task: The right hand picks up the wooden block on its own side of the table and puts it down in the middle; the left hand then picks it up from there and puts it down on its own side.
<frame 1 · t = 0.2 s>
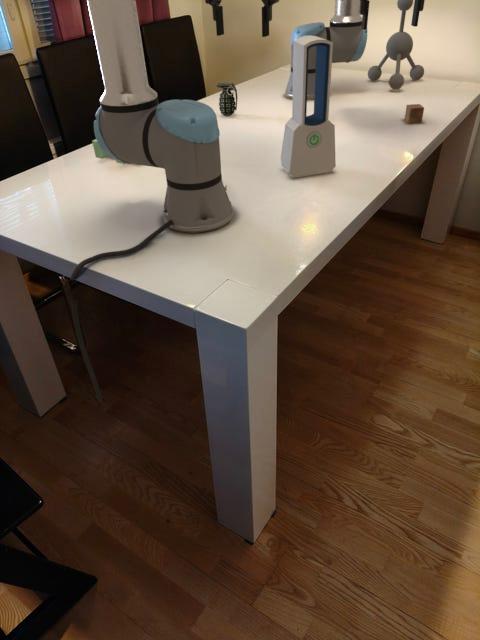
left hand: (242, 35, 129), 28 cm above the table, tool pointing down, fingers open, 13 cm apart
right hand: (389, 27, 131), 27 cm above the table, tool pointing down, fingers open, 13 cm apart
block: (412, 121, 154), on the table
grenade: (228, 115, 169), on the table
decorative block: (142, 151, 144), on the table
molecular model: (399, 83, 194), on the table
electronic device: (307, 170, 126), on the table
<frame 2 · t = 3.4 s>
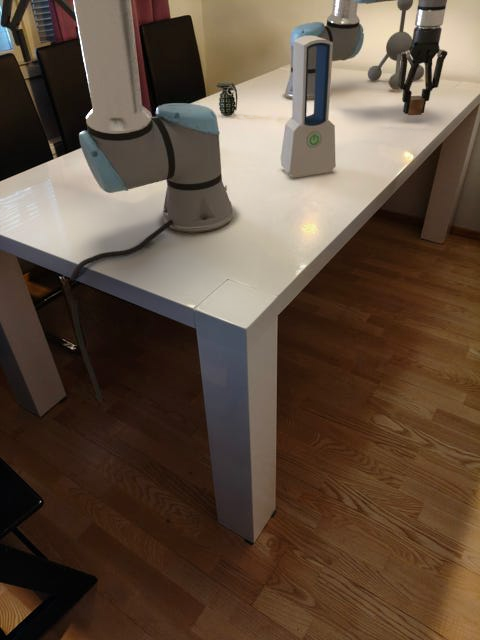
left hand: (56, 59, 115), 28 cm above the table, tool pointing down, fingers open, 13 cm apart
right hand: (413, 112, 153), 3 cm above the table, tool pointing down, fingers closed on block, 4 cm apart
block: (412, 113, 153), point 2 cm above the table, touching right hand
everything else where it was.
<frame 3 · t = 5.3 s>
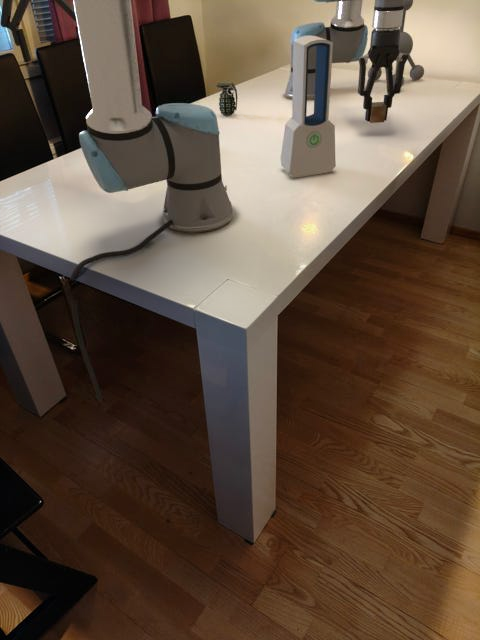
left hand: (56, 59, 115), 28 cm above the table, tool pointing down, fingers open, 13 cm apart
right hand: (375, 119, 144), 4 cm above the table, tool pointing down, fingers closed on block, 4 cm apart
block: (375, 120, 144), point 4 cm above the table, touching right hand
everything else where it was.
when the right hand's fingers open (1 cm above the table, at t = 7.3 s): block stays where it is, on the table.
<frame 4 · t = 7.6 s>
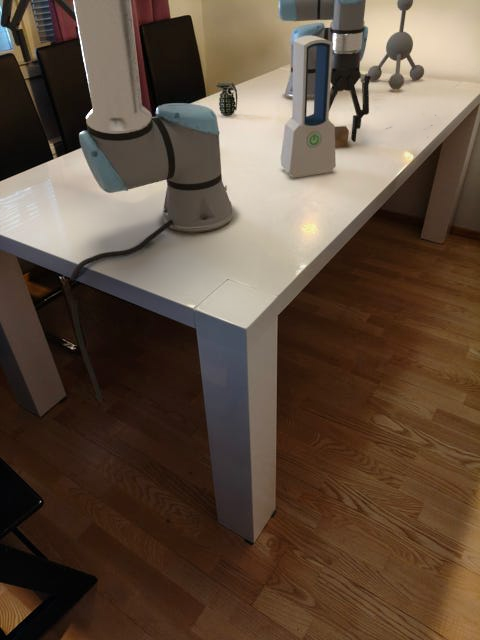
left hand: (56, 59, 115), 28 cm above the table, tool pointing down, fingers open, 13 cm apart
right hand: (339, 141, 139), 1 cm above the table, tool pointing down, fingers open, 7 cm apart
block: (338, 145, 140), on the table
everything else where it was.
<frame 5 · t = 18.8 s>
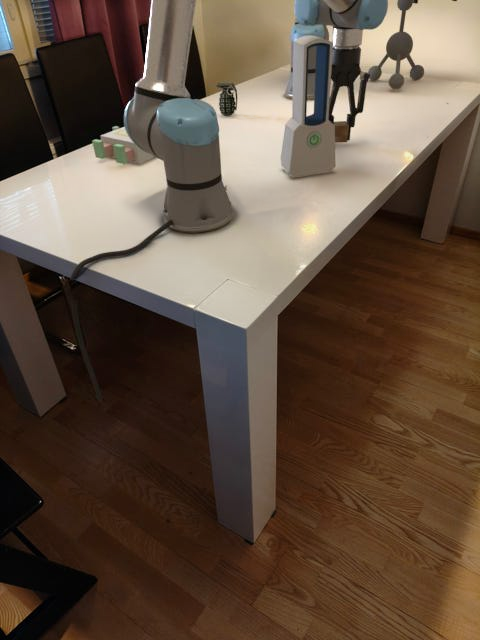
left hand: (338, 139, 139), 2 cm above the table, tool pointing down, fingers closed on block, 4 cm apart
right hand: (434, 2, 170), 28 cm above the table, tool pointing down, fingers open, 13 cm apart
block: (338, 140, 139), point 1 cm above the table, touching left hand
everything else where it was.
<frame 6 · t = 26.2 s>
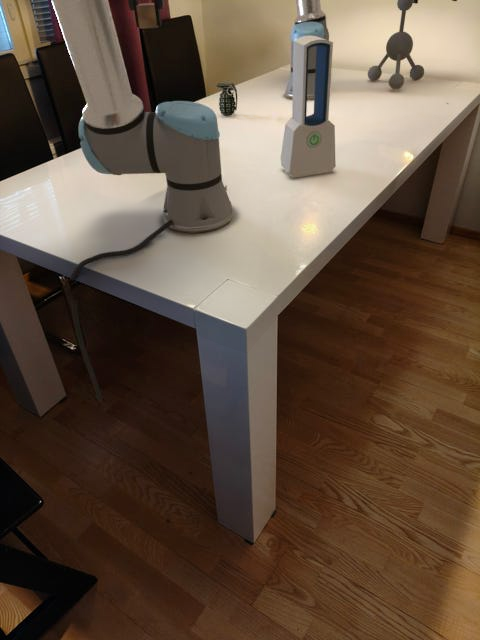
left hand: (149, 25, 117), 33 cm above the table, tool pointing down, fingers closed on block, 4 cm apart
right hand: (434, 2, 170), 28 cm above the table, tool pointing down, fingers open, 13 cm apart
block: (149, 26, 117), point 32 cm above the table, touching left hand
everything else where it was.
when the left hand's fingers open (1 cm above the table, at t = 34.1 s): block stays where it is, on the table.
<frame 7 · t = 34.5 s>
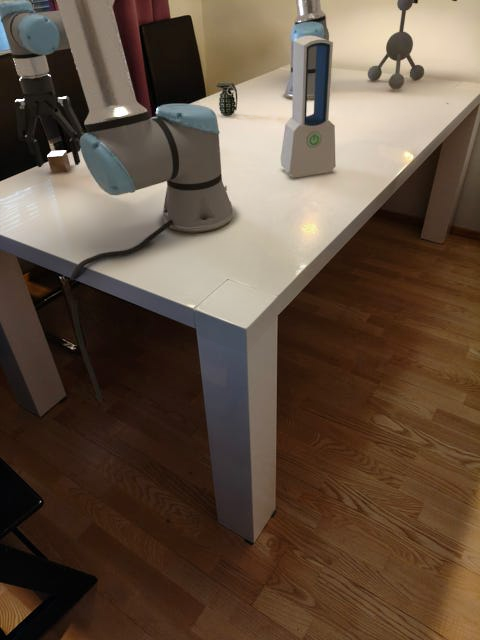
left hand: (59, 164, 134), 2 cm above the table, tool pointing down, fingers open, 9 cm apart
right hand: (434, 2, 170), 28 cm above the table, tool pointing down, fingers open, 13 cm apart
block: (61, 170, 135), on the table
everything else where it was.
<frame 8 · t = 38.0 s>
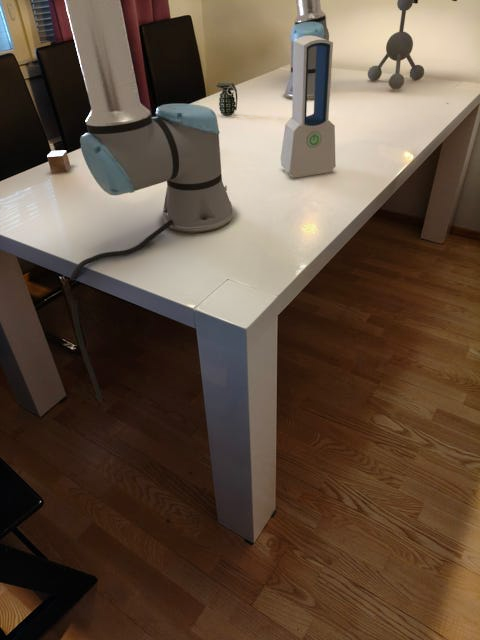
left hand: (13, 0, 111), 40 cm above the table, tool pointing down, fingers open, 13 cm apart
right hand: (434, 2, 170), 28 cm above the table, tool pointing down, fingers open, 13 cm apart
nothing on the table moved.
at the end: block inside the target area (0.2 cm from its centre), on the table; block tilted 0°; the two hands never held the block at the same time; the left hand is holding nothing; the right hand is holding nothing; block at rest at the end (0.0 cm/s) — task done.
